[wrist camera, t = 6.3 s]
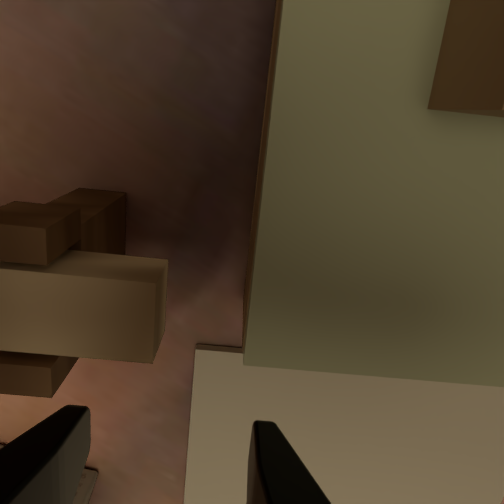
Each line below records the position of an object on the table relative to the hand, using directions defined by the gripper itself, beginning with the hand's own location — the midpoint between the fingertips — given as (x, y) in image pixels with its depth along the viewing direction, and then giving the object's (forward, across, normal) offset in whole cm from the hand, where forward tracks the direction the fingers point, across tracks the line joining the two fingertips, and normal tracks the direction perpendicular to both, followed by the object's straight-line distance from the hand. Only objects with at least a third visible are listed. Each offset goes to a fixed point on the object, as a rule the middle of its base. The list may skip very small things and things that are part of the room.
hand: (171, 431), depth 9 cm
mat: (+12, -8, +17) cm, 22 cm away
